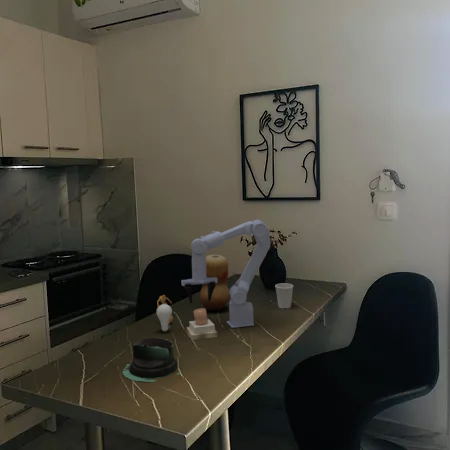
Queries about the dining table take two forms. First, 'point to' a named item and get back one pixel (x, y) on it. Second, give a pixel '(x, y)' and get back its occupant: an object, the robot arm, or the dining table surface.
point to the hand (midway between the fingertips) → (200, 301)
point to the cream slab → (201, 327)
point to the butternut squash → (220, 295)
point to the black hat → (151, 360)
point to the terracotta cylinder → (200, 316)
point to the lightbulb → (164, 315)
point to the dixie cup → (284, 294)
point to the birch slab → (201, 335)
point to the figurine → (162, 299)
